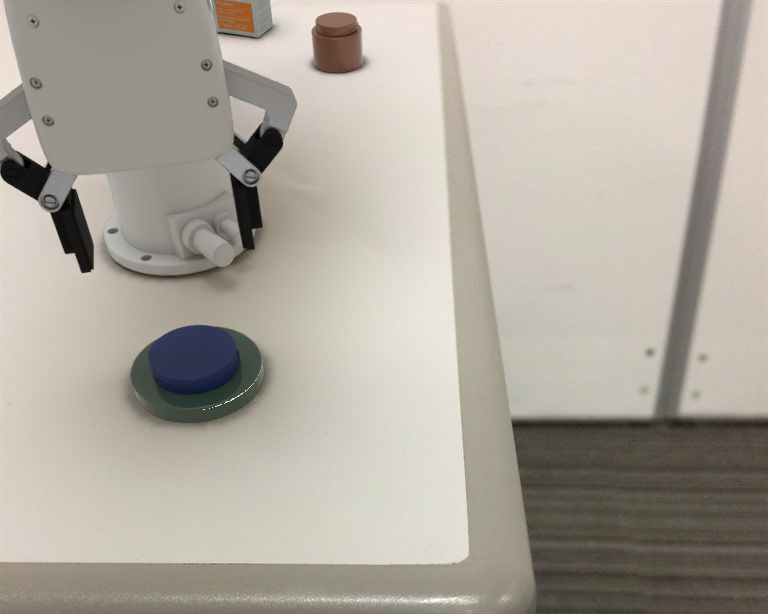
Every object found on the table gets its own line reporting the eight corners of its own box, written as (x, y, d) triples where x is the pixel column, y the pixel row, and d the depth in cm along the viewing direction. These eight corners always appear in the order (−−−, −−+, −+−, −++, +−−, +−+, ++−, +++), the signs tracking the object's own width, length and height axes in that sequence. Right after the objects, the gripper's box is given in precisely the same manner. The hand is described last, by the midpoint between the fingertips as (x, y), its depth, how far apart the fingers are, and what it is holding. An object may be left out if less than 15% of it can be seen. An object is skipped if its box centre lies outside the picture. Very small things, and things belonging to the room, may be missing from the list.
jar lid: (236, 334, 58) (233, 319, 57) (244, 386, 55) (241, 371, 54) (151, 346, 58) (146, 331, 57) (153, 400, 54) (148, 385, 53)
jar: (373, 63, 93) (371, 19, 90) (334, 77, 91) (332, 32, 87) (342, 49, 96) (339, 6, 92) (304, 62, 93) (300, 19, 90)
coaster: (289, 381, 57) (287, 368, 56) (177, 442, 53) (173, 428, 52) (218, 323, 61) (215, 310, 60) (111, 375, 58) (106, 362, 57)
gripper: (265, -124, 40) (298, 200, 53) (-104, -95, 38) (26, 235, 51) (288, -80, 36) (318, 263, 49) (-132, -44, 33) (19, 306, 46)
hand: (168, 249), depth 50 cm, fingers open, 9 cm apart
